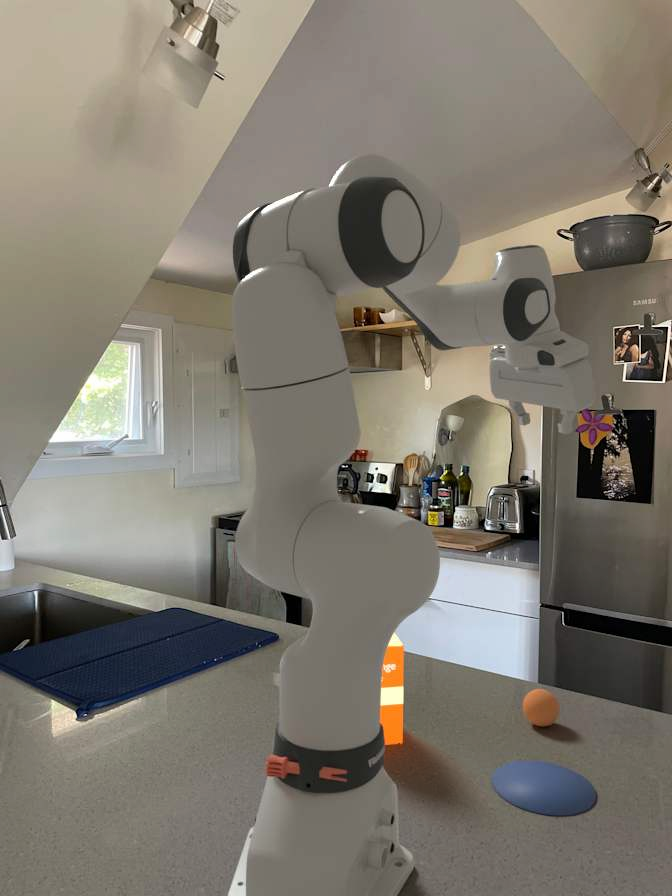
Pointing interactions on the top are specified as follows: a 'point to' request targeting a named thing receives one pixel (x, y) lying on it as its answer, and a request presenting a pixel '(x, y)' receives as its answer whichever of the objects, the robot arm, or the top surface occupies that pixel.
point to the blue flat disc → (544, 788)
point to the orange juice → (392, 692)
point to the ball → (541, 707)
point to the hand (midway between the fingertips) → (544, 428)
